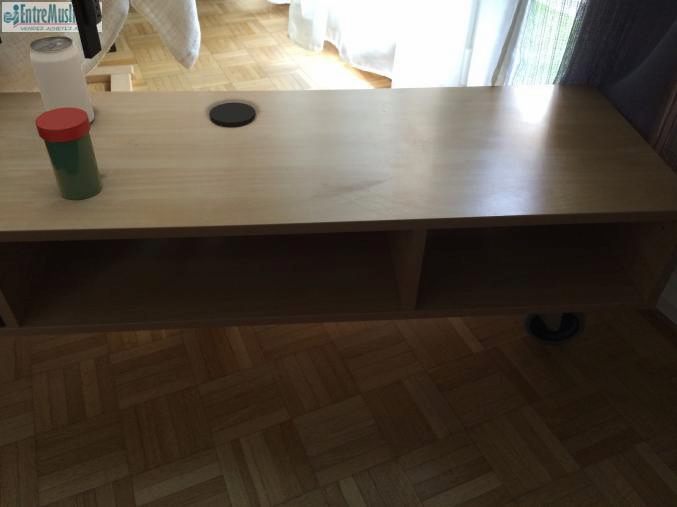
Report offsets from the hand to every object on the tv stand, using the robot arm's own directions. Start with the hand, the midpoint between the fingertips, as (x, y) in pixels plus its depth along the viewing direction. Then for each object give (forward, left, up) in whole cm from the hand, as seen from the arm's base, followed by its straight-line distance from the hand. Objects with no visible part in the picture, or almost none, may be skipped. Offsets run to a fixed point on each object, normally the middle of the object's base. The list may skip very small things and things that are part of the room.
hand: (42, 50), depth 67 cm
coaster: (+14, +23, -18) cm, 32 cm away
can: (-9, +17, -18) cm, 27 cm away
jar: (0, 0, -18) cm, 18 cm away
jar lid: (0, 0, -8) cm, 8 cm away
